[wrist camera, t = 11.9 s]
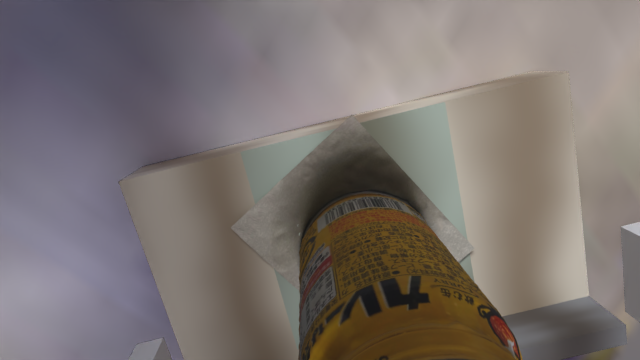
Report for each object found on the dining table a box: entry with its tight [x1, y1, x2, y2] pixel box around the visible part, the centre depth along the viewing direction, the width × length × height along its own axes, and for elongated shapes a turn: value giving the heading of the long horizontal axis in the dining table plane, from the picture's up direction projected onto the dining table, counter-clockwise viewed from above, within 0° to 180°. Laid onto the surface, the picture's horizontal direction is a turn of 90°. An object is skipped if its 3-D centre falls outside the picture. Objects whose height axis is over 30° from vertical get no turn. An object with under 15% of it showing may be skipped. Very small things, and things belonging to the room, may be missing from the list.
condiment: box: [231, 115, 523, 360], centre depth 14 cm, size 7×8×12 cm
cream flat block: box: [119, 71, 627, 360], centre depth 21 cm, size 20×12×6 cm, turn 103°
